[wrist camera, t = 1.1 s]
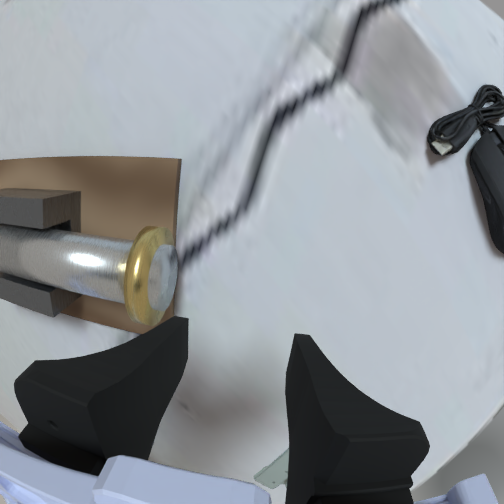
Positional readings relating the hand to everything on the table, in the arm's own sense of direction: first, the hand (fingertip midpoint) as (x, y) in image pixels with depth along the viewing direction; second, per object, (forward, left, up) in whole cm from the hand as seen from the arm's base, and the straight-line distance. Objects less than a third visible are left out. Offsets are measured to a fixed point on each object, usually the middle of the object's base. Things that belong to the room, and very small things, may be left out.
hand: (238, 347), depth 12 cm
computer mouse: (+10, -19, -11) cm, 24 cm away
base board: (0, +19, -10) cm, 22 cm away
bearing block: (0, +19, -10) cm, 22 cm away
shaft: (0, +13, -9) cm, 16 cm away
